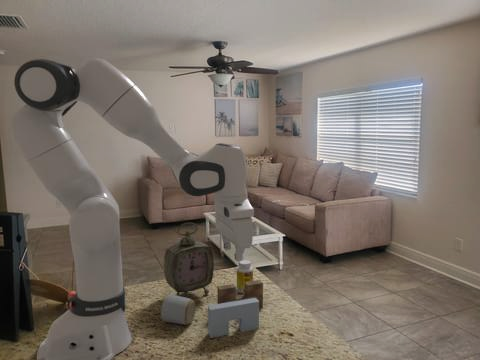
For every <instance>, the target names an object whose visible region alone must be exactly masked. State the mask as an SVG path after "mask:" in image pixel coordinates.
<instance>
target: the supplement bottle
mask: <svg viewBox="0 0 480 360" xmlns="http://www.w3.org/2000/svg"><path fill="white" fill-rule="evenodd" d="M251 263H252V262H251V261H250V260H247V259H243V260H242V261H238V266H237V268H236V292H238V293H240V294H245V282H249V281H254V268H253V266H252V264H251Z"/></svg>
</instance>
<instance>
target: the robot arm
mask: <svg viewBox="0 0 480 360" xmlns="http://www.w3.org/2000/svg"><path fill="white" fill-rule="evenodd" d="M13 84H14V87H15V92H16V93H17V96H18V97H19V99H21V101H23V103H24V105H23V106H22V107H20V108H18V109H17V110H16V111H14V112H13V113H12V115H11V116H10V118H9V119H8V128H9V130H10V133H11V136H12V137H13V141H14V142H15V144H16V146H17V147H18V149H19V151H20V153H21V154H22V157H24V159H25V161H26V162H27V163H28V165H29V166H30V168H31V169H32V170H33V172H34V174H35V175H36V177H38V179H39V181H40V182H41V184H42V185H43V186H44V188H45V189H46V190H47V192H48V193H49V194H51V195H52V196H53V197H55V199H56V200H57V201H58V202H59V203H60V204H61V205H62V206H63V207H64V208H65V209H66V211H67V212H68V213H69V215H70V217H69V223H68V228H69V229H68V230H69V237H70V245H71V250H72V256H73V262H74V268H75V282H76V291H75V290H70V291H69V292H68V295H67V300H68V309H67V310H66V311H65V312H64V313H63V314H61V315H60V316H59V317H58V318H57V319H55V320H54V321H53V322H52V324H51V325H50V327H49V329H48V332H47V334H46V338H45V339H44V340H43V341H42V342H41V343H40V345H39V347H38V349H37V352H36V360H112V359H113V358H114V357H115V356H116V355H117V354H119V353H121V352H123V351H125V349H127V348H128V347H129V346H130V344H131V343H132V340H133V336H132V334H131V331H130V329H129V324H128V320H127V314H126V308H127V297H126V295H127V294H126V290H125V287H124V286H123V285H124V281H123V264H122V262H123V261H122V247H121V231H120V228H121V227H120V226H121V225H120V206H119V204H118V202H117V200H116V199H115V198H114V196H113V195H112V193H111V192H110V191H109V189H108V188H107V187H106V185H105V184H104V182H103V181H102V180H101V179H100V177H99V176H98V175H97V173H96V172H95V171H94V169H93V168H92V167H91V166H90V164H89V162H88V161H87V160H86V158H85V156H84V155H83V153H82V152H81V151H80V148H79V147H78V145H77V144H76V143H75V141H74V139H73V138H72V137H71V134H70V133H69V132H68V130H67V129H66V127H65V125H64V123H63V119H62V117H64V116H65V115H66V114H67V113H68V112H69V111H71V109H72V108H73V107H74V106H75V105H76V104H77V103H78V102H82V103H84V104H86V105H87V106H88V107H90V108H92V110H94V111H95V112H96V113H97V114H98V115H99V116H100V117H101V118H102V119H104V120H105V122H107V124H109V125H110V126H112V127H113V128H114V129H115V130H117V131H118V132H119V133H121V134H122V135H125V137H129V138H131V139H133V140H137V141H139V142H141V143H143V145H144V144H145V145H146V146H147V147H148V148H149V149H151V150H152V151H153V153H155V154H157V156H159V158H161V159H162V161H164V162H165V163H166V164H167V165H168V166H169V168H170V169H171V171H172V174H173V177H174V179H175V181H176V183H177V184H178V185H179V186H180V188H181V189H182V190H183V192H185V193H186V194H187V195H190V196H192V197H203V196H206V195H210V194H213V200H214V201H213V203H214V212H215V213H214V215H215V218H214V220H215V225H214V226H215V228H216V231H217V232H218V233H220V235H221V240H222V244H223V245H222V246H223V249H224V250H225V251H230V250H231V249H232V247H231V246H232V245H234V249H235V253H234V254H233V255H234V260H235V261H236V262H240V261H242V260H244V253H245V250H246V249H249V248H251V246H252V245H253V237H254V236H253V233H254V231H253V230H254V229H253V228H254V227H253V226H254V224H253V222H254V221H253V219H252V217H255V210H254V207H253V206H252V205H251V203H250V201H249V197H248V190H247V185H246V183H247V179H248V170H247V159H246V153H245V150H244V149H243V148H242V147H240V146H238V145H235V144H228V143H221V142H219V143H216V144H214V146H212V147H211V148H210V149H208V150H207V151H204V152H202V153H201V154H195V153H194V152H190V151H188V150H187V149H186V148H184V147H183V146H182V144H180V142H178V141H177V140H176V138H174V137H173V136H172V135H171V134H170V133H169V132H168V131H167V130H166V129H165V127H164V125H163V124H162V123H161V120H160V119H159V116H158V114H157V111H156V109H155V106H153V104H152V103H151V101H150V100H149V98H148V97H147V95H146V94H145V93H144V92H143V91H142V90H141V89H140V88H139V87H138V85H136V84H135V83H134V82H133V81H132V79H130V78H129V77H128V76H127V75H125V74H124V73H123V72H122V71H121V70H120V69H118V68H117V67H115V66H114V65H113V64H112V63H110V62H108V61H107V60H105V59H103V58H100V57H99V58H98V57H96V58H90V59H88V60H86V61H85V62H83V63H82V64H81V65H80V66H79V67H77V68H73V67H71V66H69V65H66V64H63V63H62V62H58V61H55V60H49V59H45V58H37V59H31V60H28V61H26V62H24V63H23V64H22V65H20V66H19V68H18V69H17V71H16V73H15V76H14V83H13Z"/></svg>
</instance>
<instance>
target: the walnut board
mask: <svg viewBox="0 0 480 360" xmlns="http://www.w3.org/2000/svg"><path fill="white" fill-rule="evenodd" d="M216 287H217V291H216V292H217V298H216V299H217V304H221V303H227V302H233V301H239V300H245V299H251V298H256V299H257V300H258V301H259V309H260V308H264V282H263V281H262V280H261V279H256V280H253V281H249V282H245V293H242V294H239V295H237V285H235V284H234V283H231V284H224V285H218V286H216Z"/></svg>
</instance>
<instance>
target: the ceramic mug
mask: <svg viewBox="0 0 480 360" xmlns="http://www.w3.org/2000/svg"><path fill="white" fill-rule="evenodd" d="M195 314H196V302H195V300H193V299H192V298H188V297H184V296H180V295H179V296H177V294H170V293H169V294H167V295H166V296H165V297H164V299H163V301H162V304H161V309H160V318H161V320H162V322H165V323H171V324H177V325H184V326H185V325H189V324H191V323H192V321H193V319H194V317H195Z"/></svg>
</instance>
